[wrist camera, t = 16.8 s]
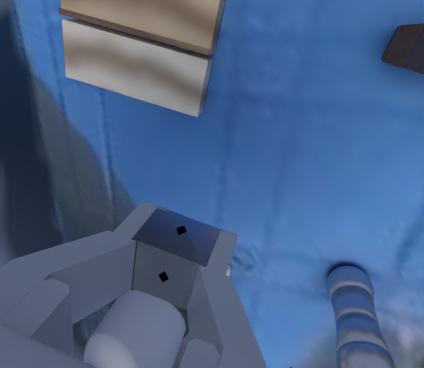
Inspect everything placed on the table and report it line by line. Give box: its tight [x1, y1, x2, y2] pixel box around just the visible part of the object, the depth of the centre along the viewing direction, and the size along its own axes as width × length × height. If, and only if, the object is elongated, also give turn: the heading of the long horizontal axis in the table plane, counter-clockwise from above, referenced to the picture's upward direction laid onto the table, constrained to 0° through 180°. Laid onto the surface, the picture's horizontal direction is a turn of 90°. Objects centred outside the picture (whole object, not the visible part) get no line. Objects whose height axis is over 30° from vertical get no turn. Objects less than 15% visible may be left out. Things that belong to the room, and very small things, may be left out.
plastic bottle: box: [327, 266, 396, 368], centre depth 37 cm, size 6×7×20 cm
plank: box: [62, 19, 213, 117], centre depth 37 cm, size 7×20×2 cm, turn 77°
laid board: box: [59, 0, 226, 55], centre depth 33 cm, size 7×20×3 cm, turn 77°
